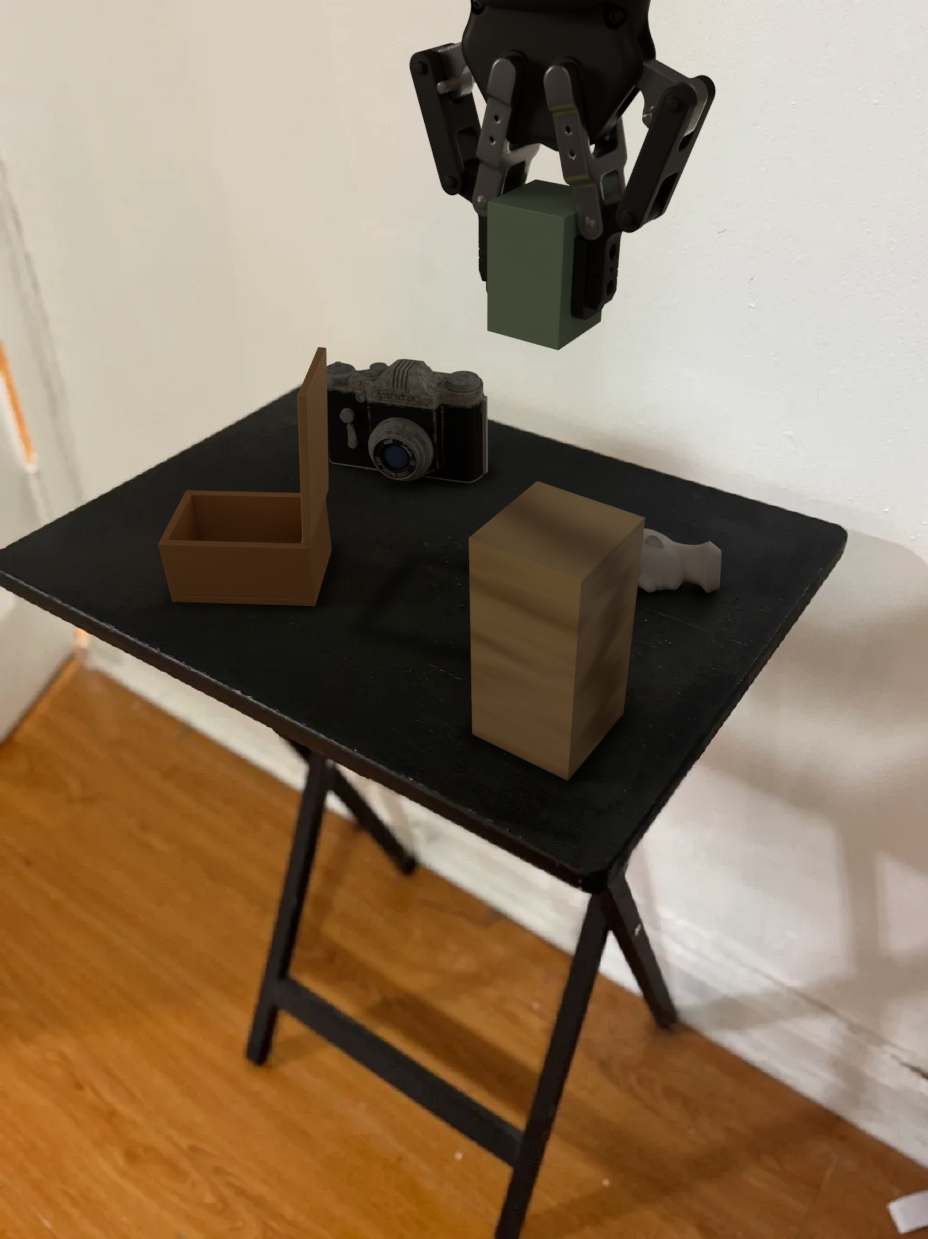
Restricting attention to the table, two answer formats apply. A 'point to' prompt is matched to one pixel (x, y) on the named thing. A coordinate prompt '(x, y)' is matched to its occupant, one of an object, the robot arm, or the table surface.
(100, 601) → the table surface
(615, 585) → the post
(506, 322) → the block
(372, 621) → the table surface
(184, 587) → the case
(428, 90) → the robot arm
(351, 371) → the camera
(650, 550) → the pale two-lobed sculpture
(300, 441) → the case lid
